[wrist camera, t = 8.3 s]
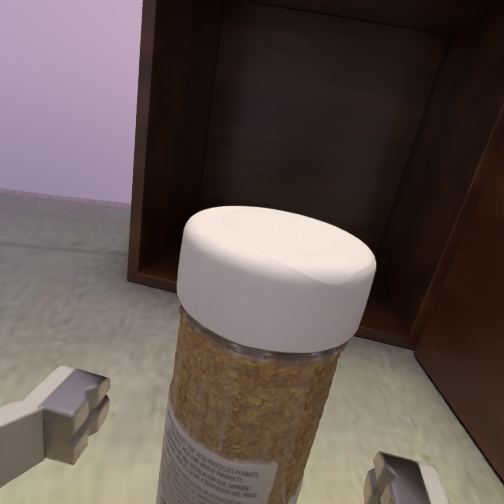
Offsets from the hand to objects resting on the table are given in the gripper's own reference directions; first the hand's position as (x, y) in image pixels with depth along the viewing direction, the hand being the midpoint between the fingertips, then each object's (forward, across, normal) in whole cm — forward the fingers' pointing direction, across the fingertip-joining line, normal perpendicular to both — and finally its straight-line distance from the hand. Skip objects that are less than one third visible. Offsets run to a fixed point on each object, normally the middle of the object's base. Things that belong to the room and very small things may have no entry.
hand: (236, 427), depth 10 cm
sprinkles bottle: (0, 0, +7) cm, 7 cm away
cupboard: (+28, 0, +7) cm, 29 cm away
